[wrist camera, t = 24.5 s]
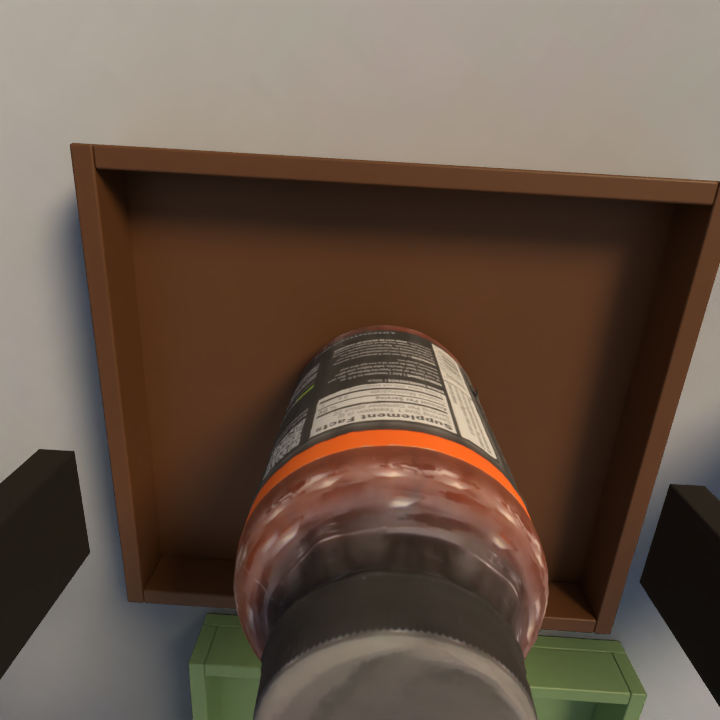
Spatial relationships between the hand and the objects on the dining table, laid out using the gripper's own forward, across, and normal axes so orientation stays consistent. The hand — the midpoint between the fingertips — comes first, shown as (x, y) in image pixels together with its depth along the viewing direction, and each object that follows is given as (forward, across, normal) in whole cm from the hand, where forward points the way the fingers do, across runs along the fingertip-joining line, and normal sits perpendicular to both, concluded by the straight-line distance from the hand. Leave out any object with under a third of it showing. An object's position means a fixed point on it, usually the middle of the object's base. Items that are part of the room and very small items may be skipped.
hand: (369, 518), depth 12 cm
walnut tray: (+7, 0, 0) cm, 7 cm away
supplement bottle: (+6, 0, 0) cm, 6 cm away
